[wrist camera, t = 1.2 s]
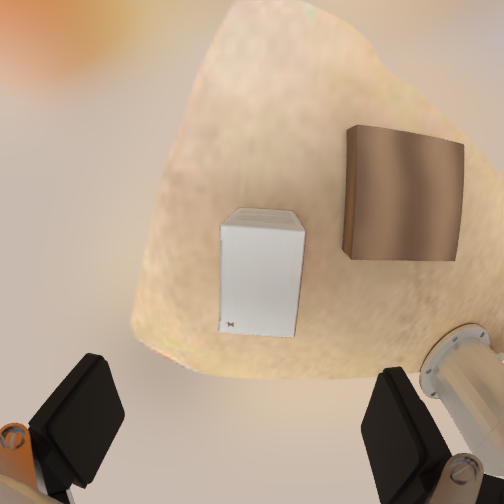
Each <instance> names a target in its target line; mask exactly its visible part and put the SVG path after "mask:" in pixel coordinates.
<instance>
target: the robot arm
mask: <svg viewBox="0 0 504 504" xmlns="http://www.w3.org/2000/svg"><path fill="white" fill-rule="evenodd" d="M503 360H504V352H500V353H497V354H496V353H495V352H494V351H493V350H492V349H491V348H490V338H489V334H488V333H487V331H486V330H485V329H484V328H483V327H481V326H479V325H477V324H467V325H464V326H461V327H459V328H457V329H455V330H453V331H452V332H450V333H449V334H447V335H446V336H445V337H444V338H443V339H442V340H440V341H439V342H438V343H437V345H436V346H435V347H434V348H433V349H432V351H431V352H430V353H429V355H428V356H427V358H426V360H425V362H424V364H423V366H422V369H421V372H420V376H419V383H420V387H421V389H422V390H423V392H424V393H425V394H426V396H428V397H430V398H434V399H441V401H442V402H443V404H444V405H445V407H446V409H447V410H448V412H449V414H450V415H451V417H452V419H453V420H454V422H455V424H456V426H457V427H458V429H459V431H460V433H461V434H462V436H463V438H464V440H465V441H466V443H467V445H468V447H469V449H470V451H471V452H472V454H473V455H472V454H469V453H459V454H456V455H454V456H452V454H451V452H450V450H449V448H448V446H447V444H446V443H445V440H444V439H443V437H442V435H441V433H440V431H439V429H438V427H437V425H436V424H435V422H434V420H433V418H432V416H431V414H430V412H429V411H428V409H427V407H426V405H425V404H424V402H423V401H422V400H420V398H419V396H418V395H417V392H416V391H415V389H414V387H413V386H412V384H411V382H410V380H409V379H408V377H407V375H406V373H405V372H404V370H403V369H402V367H392V368H385V369H384V370H383V372H382V373H379V374H378V377H377V381H376V384H375V387H374V390H373V393H372V396H371V399H370V402H369V405H368V407H367V410H366V413H365V416H364V419H363V421H362V424H361V433H362V437H363V440H364V444H365V447H366V451H367V454H368V458H369V461H370V465H371V469H372V472H373V476H374V480H375V484H376V488H377V491H378V495H379V499H380V503H381V504H504V479H501V478H497V477H493V476H490V475H494V476H504V364H503V363H502V362H501V361H503ZM124 417H125V412H124V409H123V407H122V404H121V401H120V398H119V395H118V393H117V390H116V387H115V384H114V381H113V378H112V374H111V371H110V368H109V365H108V362H107V361H106V360H105V359H104V358H103V356H101V355H96V354H91V353H87V354H86V355H85V356H84V357H83V358H82V359H81V360H80V361H79V363H78V364H77V365H76V366H75V367H74V368H73V370H72V371H71V372H70V373H69V374H68V376H66V378H65V379H64V380H63V381H62V382H61V383H60V385H59V386H58V387H57V388H56V389H55V391H54V392H53V393H52V394H51V395H50V397H49V398H48V399H47V400H46V402H45V403H44V404H43V405H42V406H41V408H40V409H39V410H38V411H37V413H36V414H35V415H34V416H33V418H32V419H31V420H30V421H29V423H28V424H29V425H30V427H29V429H27V428H26V427H25V426H24V425H22V424H19V423H10V424H7V425H5V426H4V427H2V428H1V429H0V504H75V502H74V499H73V496H72V493H71V491H70V486H71V484H72V483H73V484H74V485H77V486H79V487H81V488H84V489H85V488H86V486H87V484H90V483H91V482H92V481H93V479H94V477H95V475H96V473H97V471H98V469H99V467H100V465H101V463H102V461H103V459H104V457H105V455H106V453H107V451H108V449H109V447H110V445H111V443H112V441H113V440H114V438H115V436H116V434H117V432H118V430H119V428H120V426H121V424H122V422H123V420H124ZM484 472H485V473H487V474H490V475H487V474H484Z"/></svg>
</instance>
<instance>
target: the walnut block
mask: <svg viewBox="0 0 504 504" xmlns="http://www.w3.org/2000/svg"><path fill="white" fill-rule="evenodd" d="M463 186H464V144H460V143H456V142H452V141H448V140H444V139H439V138H435V137H430V136H425V135H420V134H415V133H410V132H404V131H398V130H392V129H386V128H379V127H371V126H363V125H356V126H354V127H352V128H350V129H348V130H347V169H346V199H345V218H344V233H343V246H342V250H343V251H344V252H345V253H346V254H347V255H348V256H349V257H350V259H351V260H409V261H455V258H456V252H457V246H458V239H459V231H460V223H461V213H462V201H463Z"/></svg>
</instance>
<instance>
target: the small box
mask: <svg viewBox="0 0 504 504" xmlns="http://www.w3.org/2000/svg"><path fill="white" fill-rule="evenodd" d="M305 238H306V230H305V229H304V227H303V226H302V224H301V222H300V221H299V219H298V218H297V216H296V215H295V213H294V212H293V211H287V210H274V209H258V208H238V209H237V210H236V211H234V212H233V213H232V214H231V215H230V216H229V217H228V218H227V219H226V220H225V221H224V222H223V223H222V224H221V225H220V298H219V326H218V331H219V332H223V333H233V334H244V335H257V336H272V337H295V331H296V322H297V315H298V307H299V298H300V289H301V280H302V270H303V260H304V250H305Z"/></svg>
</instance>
